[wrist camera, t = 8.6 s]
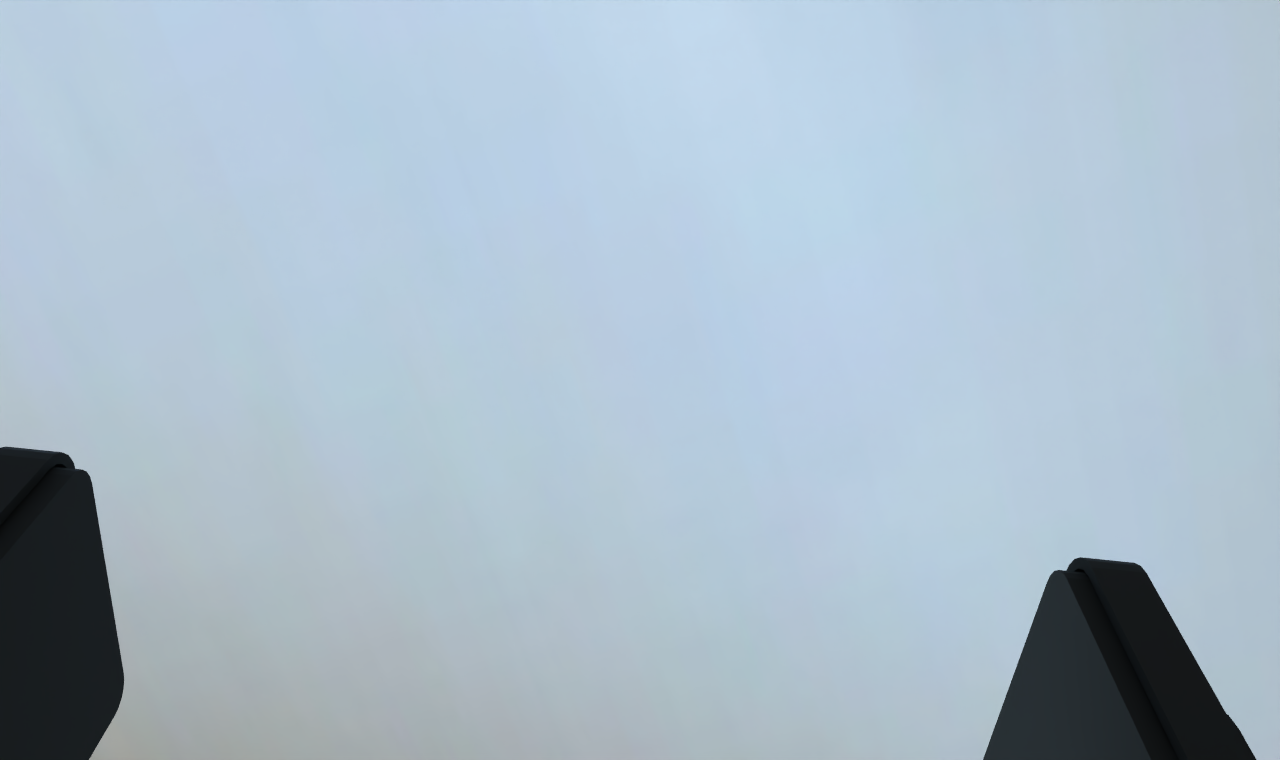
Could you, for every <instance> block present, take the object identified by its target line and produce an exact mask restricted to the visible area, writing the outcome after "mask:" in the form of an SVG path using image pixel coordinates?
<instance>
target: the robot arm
mask: <svg viewBox="0 0 1280 760" xmlns="http://www.w3.org/2000/svg"><path fill="white" fill-rule="evenodd" d="M123 687H124V673H123V667H122V661H121V655H120V649H119V643H118V637H117V631H116V625H115V619H114V613H113V607H112V601H111V595H110V589H109V583H108V577H107V571H106V565H105V559H104V553H103V547H102V541H101V535H100V529H99V523H98V517H97V511H96V505H95V499H94V493H93V487H92V482H91V479H90V476H89V475H88V473H87V472H86V471H84V470H80V469H75V466H74V463H73V461H72V460H71V458H70V457H69V455H67V454H65V453H62V452H53V451H43V450H34V449H24V448H14V447H2V448H0V760H89V758H90V757H91V755H92V753H93V752H94V750H95V748H96V747H97V745H98V743H99V741H100V740H101V738H102V736H103V735H104V733H105V731H106V729H107V728H108V726H109V724H110V723H111V721H112V719H113V718H114V716H115V714H116V712H117V710H118V707H119V704H120V701H121V698H122V693H123ZM983 760H1256V758H1255V756H1254V755H1253V753H1252V751H1251V749H1250V748H1249V746H1248V744H1247V742H1246V741H1245V739H1244V737H1243V735H1242V734H1241V732H1240V730H1239V729H1238V727H1237V726H1236V725H1235V723H1234V722H1233V721H1232V719H1231V718H1230V717H1229V715H1227V714H1226V713H1225V711H1224V709H1223V707H1222V706H1221V704H1220V702H1219V700H1218V699H1217V697H1216V695H1215V693H1214V691H1213V690H1212V688H1211V686H1210V684H1209V683H1208V681H1207V679H1206V677H1205V676H1204V674H1203V672H1202V670H1201V669H1200V667H1199V665H1198V663H1197V662H1196V660H1195V658H1194V656H1193V654H1192V653H1191V651H1190V649H1189V647H1188V646H1187V644H1186V642H1185V640H1184V639H1183V637H1182V635H1181V633H1180V632H1179V630H1178V628H1177V626H1176V624H1175V623H1174V621H1173V619H1172V617H1171V616H1170V614H1169V612H1168V610H1167V609H1166V607H1165V605H1164V603H1163V602H1162V600H1161V598H1160V596H1159V594H1158V593H1157V591H1156V589H1155V587H1154V586H1153V584H1152V582H1151V580H1150V579H1149V577H1148V575H1147V573H1146V572H1145V571H1144V569H1143V568H1142V567H1141V566H1140V565H1138V564H1135V563H1129V562H1120V561H1110V560H1100V559H1091V558H1077V559H1074V560H1073V562H1072V563H1071V564H1070V565H1069V567H1068V569H1067V571H1062V570H1057V571H1054V572H1053V573H1052V574H1051V575H1050V577H1049V580H1048V582H1047V584H1046V587H1045V590H1044V592H1043V595H1042V598H1041V601H1040V604H1039V606H1038V609H1037V612H1036V615H1035V617H1034V620H1033V623H1032V626H1031V628H1030V631H1029V634H1028V637H1027V640H1026V642H1025V645H1024V648H1023V651H1022V653H1021V656H1020V659H1019V662H1018V664H1017V667H1016V670H1015V673H1014V676H1013V678H1012V681H1011V684H1010V687H1009V689H1008V692H1007V695H1006V698H1005V700H1004V703H1003V706H1002V709H1001V712H1000V714H999V717H998V720H997V723H996V725H995V728H994V731H993V734H992V736H991V739H990V742H989V745H988V747H987V750H986V753H985V756H984V759H983Z"/></svg>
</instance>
